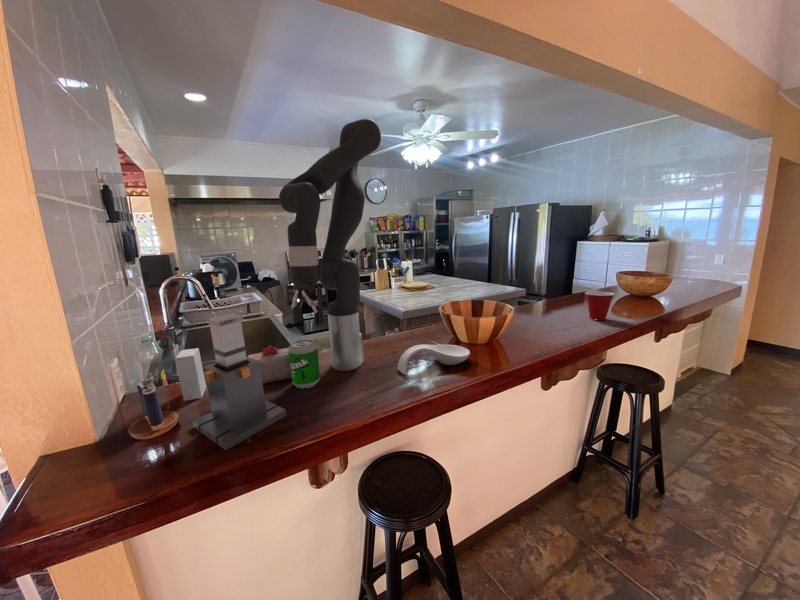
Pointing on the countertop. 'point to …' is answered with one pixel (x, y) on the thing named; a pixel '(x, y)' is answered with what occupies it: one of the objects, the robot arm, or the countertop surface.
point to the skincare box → (190, 374)
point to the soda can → (304, 363)
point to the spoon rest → (435, 354)
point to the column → (228, 341)
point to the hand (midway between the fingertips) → (308, 323)
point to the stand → (236, 405)
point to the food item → (273, 364)
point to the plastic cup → (599, 304)
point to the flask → (150, 402)
